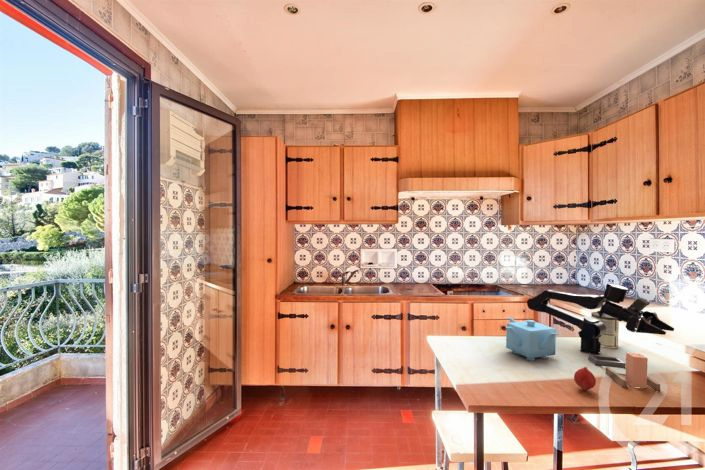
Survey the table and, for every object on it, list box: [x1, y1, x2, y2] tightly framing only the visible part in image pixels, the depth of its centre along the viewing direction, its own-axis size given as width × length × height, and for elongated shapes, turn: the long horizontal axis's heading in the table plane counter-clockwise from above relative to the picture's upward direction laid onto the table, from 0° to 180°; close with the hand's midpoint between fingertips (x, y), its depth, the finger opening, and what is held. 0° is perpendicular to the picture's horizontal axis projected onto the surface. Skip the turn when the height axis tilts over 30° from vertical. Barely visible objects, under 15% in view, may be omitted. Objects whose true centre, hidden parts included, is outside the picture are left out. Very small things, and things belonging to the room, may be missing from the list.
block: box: [624, 352, 649, 389], centre depth 108 cm, size 4×4×10 cm
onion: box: [573, 366, 597, 392], centre depth 104 cm, size 6×6×8 cm
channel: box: [604, 367, 661, 393], centre depth 110 cm, size 11×10×2 cm
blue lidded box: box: [505, 316, 559, 362], centre depth 133 cm, size 19×19×15 cm
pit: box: [587, 354, 626, 369], centre depth 126 cm, size 6×10×2 cm, turn 76°
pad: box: [600, 366, 626, 376], centre depth 119 cm, size 6×7×1 cm
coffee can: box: [590, 311, 620, 349], centre depth 148 cm, size 10×10×14 cm
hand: (669, 331), depth 117 cm, fingers open, 9 cm apart
